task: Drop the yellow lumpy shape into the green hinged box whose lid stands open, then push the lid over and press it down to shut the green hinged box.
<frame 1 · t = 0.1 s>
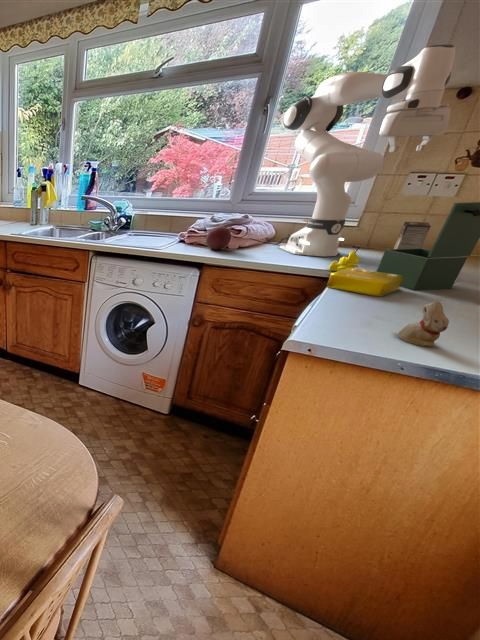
hand: (406, 151, 147), 39 cm above the table, tool pointing down, fingers open, 8 cm apart
decorative ball: (215, 249, 199), on the table
chocolate bunny: (415, 342, 102), on the table
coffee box: (397, 269, 160), on the table
green hinged box: (410, 283, 143), on the table
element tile: (361, 288, 140), on the table
bin lid: (469, 231, 126), point 18 cm above the table, hinge at 92.0°
yellow lumpy shape: (342, 271, 159), on the table
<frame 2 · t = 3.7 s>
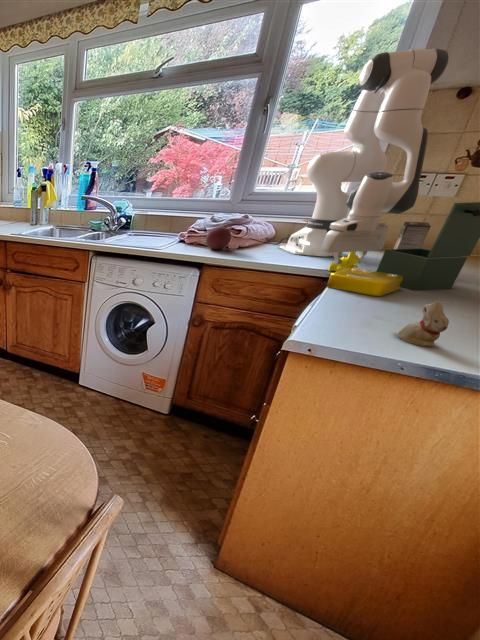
hand: (345, 263, 158), 3 cm above the table, tool pointing down, fingers closed on yellow lumpy shape, 5 cm apart
yellow lumpy shape: (341, 271, 159), on the table, touching gripper
everything else where it was.
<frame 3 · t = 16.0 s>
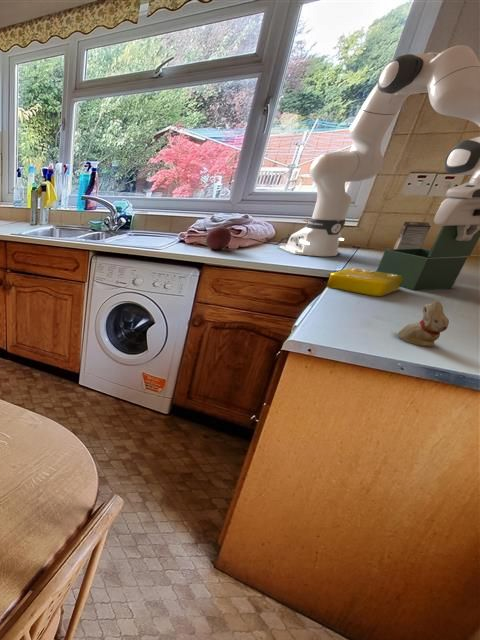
hand: (462, 240, 128), 15 cm above the table, tool pointing down, fingers closed, pressing on bin lid
bin lid: (469, 231, 127), point 18 cm above the table, hinge at 90.9°, touching gripper
yellow lumpy shape: (407, 280, 144), point 1 cm above the table, touching green hinged box
everything else where it was.
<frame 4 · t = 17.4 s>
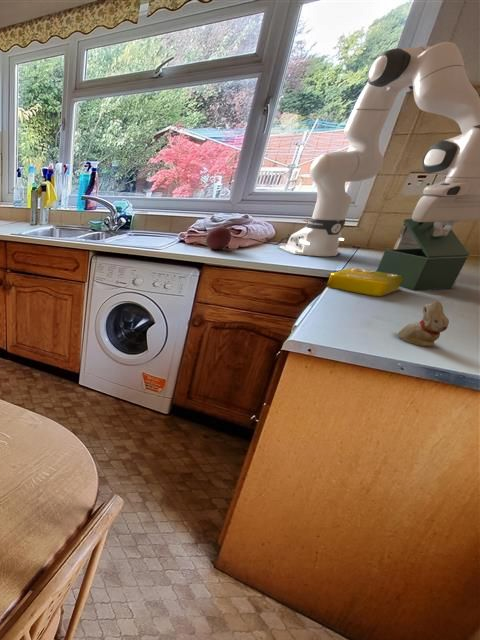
hand: (439, 236, 134), 15 cm above the table, tool pointing down, fingers closed, pressing on bin lid
bin lid: (442, 232, 134), point 17 cm above the table, hinge at 36.2°, touching gripper
everything else where it was.
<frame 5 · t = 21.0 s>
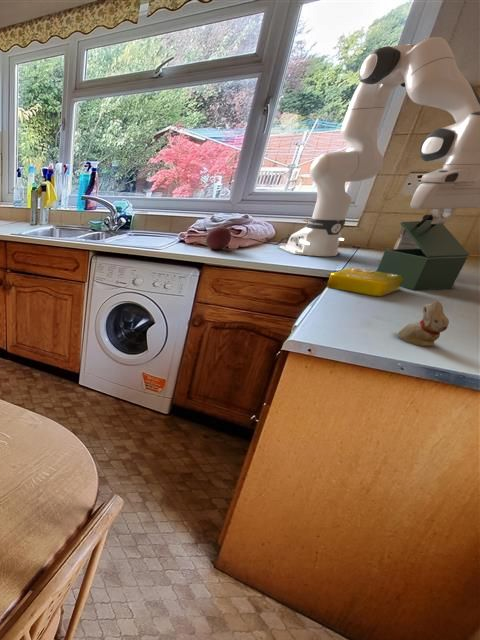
hand: (437, 224, 135), 19 cm above the table, tool pointing down, fingers closed
bin lid: (440, 233, 134), point 16 cm above the table, hinge at 32.2°
everything else where it was.
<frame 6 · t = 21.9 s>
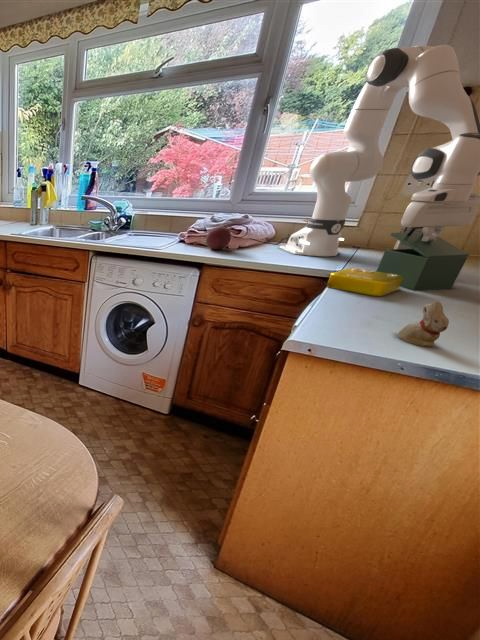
hand: (428, 241, 138), 13 cm above the table, tool pointing down, fingers closed, pressing on bin lid
bin lid: (433, 238, 136), point 15 cm above the table, hinge at 17.0°, touching gripper
everything else where it was.
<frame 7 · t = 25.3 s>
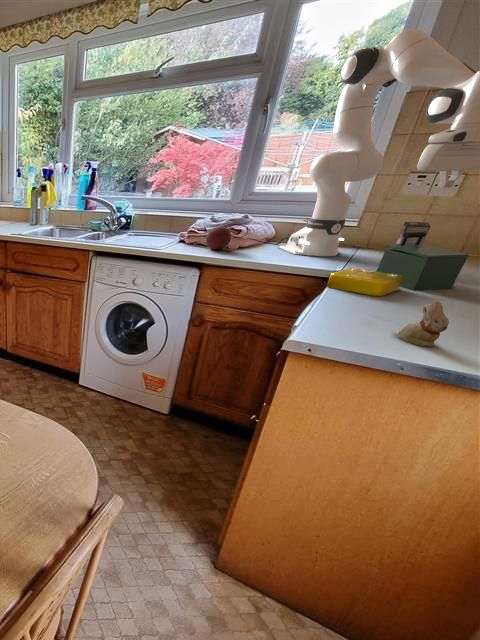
hand: (444, 186, 132), 29 cm above the table, tool pointing down, fingers closed
bin lid: (428, 243, 138), point 13 cm above the table, hinge at 2.8°
everything else where it was.
at the end: yellow lumpy shape inside the target area in the green hinged box (1.4 cm from its centre), point 0.6 cm above the green hinged box's base; bin lid at +3° (first picture: +92°) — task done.
